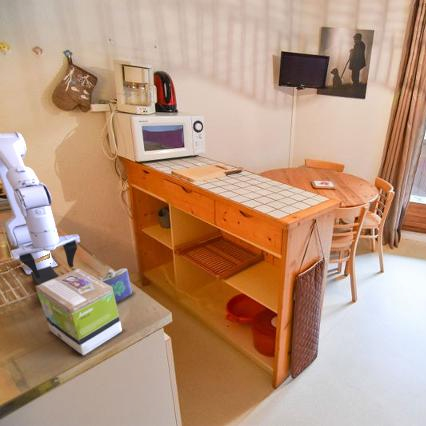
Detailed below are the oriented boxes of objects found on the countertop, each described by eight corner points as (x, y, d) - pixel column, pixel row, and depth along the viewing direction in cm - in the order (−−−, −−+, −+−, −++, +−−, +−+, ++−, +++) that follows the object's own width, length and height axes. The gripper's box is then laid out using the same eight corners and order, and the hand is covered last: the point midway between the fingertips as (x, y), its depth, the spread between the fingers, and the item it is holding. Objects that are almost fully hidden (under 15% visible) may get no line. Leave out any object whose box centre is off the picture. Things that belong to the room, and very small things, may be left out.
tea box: (48, 332, 81) (33, 285, 75) (90, 310, 90) (79, 266, 84) (82, 357, 75) (68, 307, 69) (124, 331, 83) (114, 285, 78)
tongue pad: (33, 281, 99) (30, 272, 98) (53, 275, 103) (50, 265, 102) (44, 299, 92) (41, 289, 91) (65, 291, 96) (63, 282, 95)
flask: (129, 291, 98) (123, 261, 94) (134, 294, 97) (129, 265, 93) (97, 306, 91) (89, 275, 87) (102, 311, 90) (94, 279, 86)
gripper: (9, 242, 78) (25, 287, 84) (79, 225, 89) (89, 266, 94) (3, 232, 82) (18, 276, 88) (70, 218, 93) (80, 257, 98)
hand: (54, 270), depth 91 cm, fingers open, 7 cm apart
